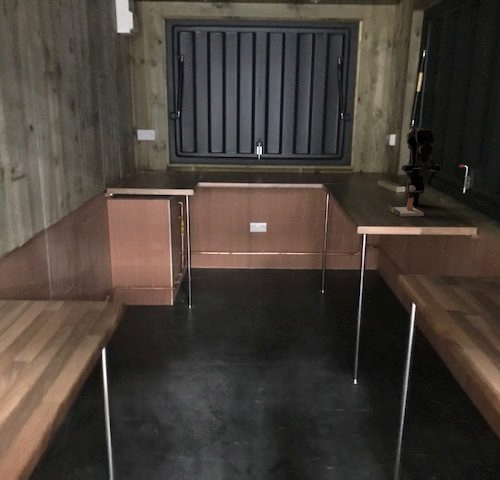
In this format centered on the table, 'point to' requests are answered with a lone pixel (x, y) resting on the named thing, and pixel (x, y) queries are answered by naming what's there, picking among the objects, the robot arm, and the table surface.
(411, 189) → the grandmother figurine
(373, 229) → the table surface
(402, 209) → the display board
